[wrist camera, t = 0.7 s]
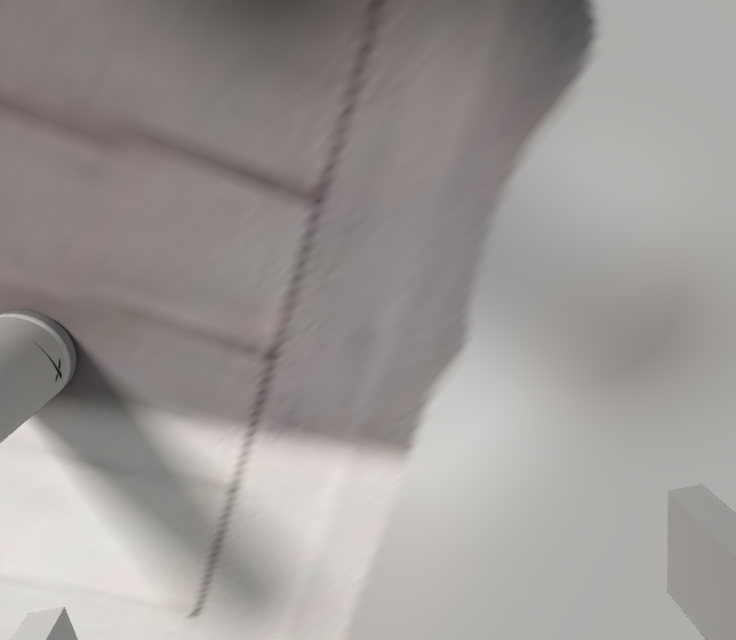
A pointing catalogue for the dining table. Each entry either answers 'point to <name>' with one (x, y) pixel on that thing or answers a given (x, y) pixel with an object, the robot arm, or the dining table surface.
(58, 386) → the travel mug
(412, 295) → the dining table surface
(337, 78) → the dining table surface
